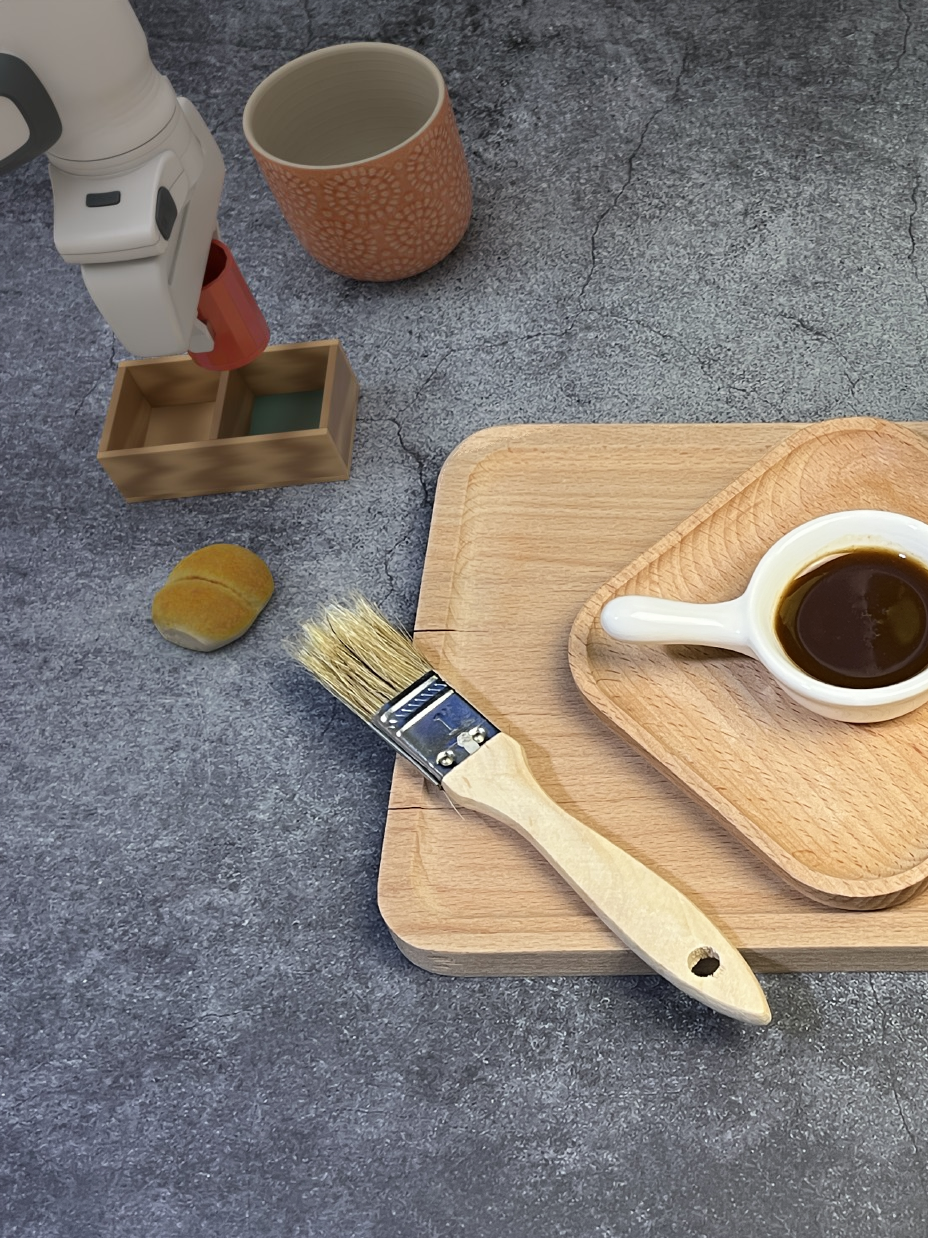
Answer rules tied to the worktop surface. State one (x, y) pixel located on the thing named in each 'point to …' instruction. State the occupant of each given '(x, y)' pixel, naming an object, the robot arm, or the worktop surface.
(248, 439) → the caddy
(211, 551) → the bread roll
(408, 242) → the planter
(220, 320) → the cup
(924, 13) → the worktop surface
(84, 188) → the robot arm
